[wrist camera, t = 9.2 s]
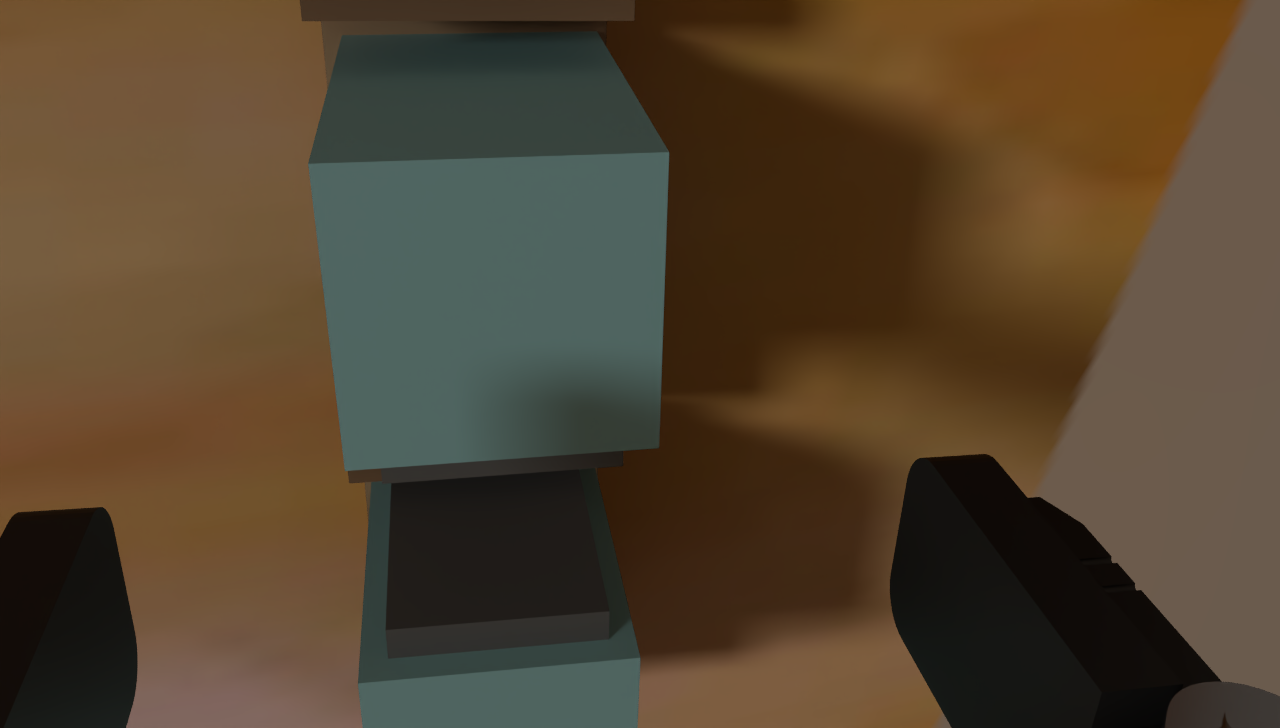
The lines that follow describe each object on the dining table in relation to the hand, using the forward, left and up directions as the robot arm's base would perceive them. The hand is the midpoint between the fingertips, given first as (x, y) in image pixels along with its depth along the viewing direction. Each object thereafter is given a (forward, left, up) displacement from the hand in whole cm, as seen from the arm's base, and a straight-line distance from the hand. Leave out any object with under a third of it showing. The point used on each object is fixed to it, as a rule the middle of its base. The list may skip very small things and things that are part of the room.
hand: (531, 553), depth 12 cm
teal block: (0, 0, -12) cm, 12 cm away
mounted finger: (-8, 0, -12) cm, 14 cm away
